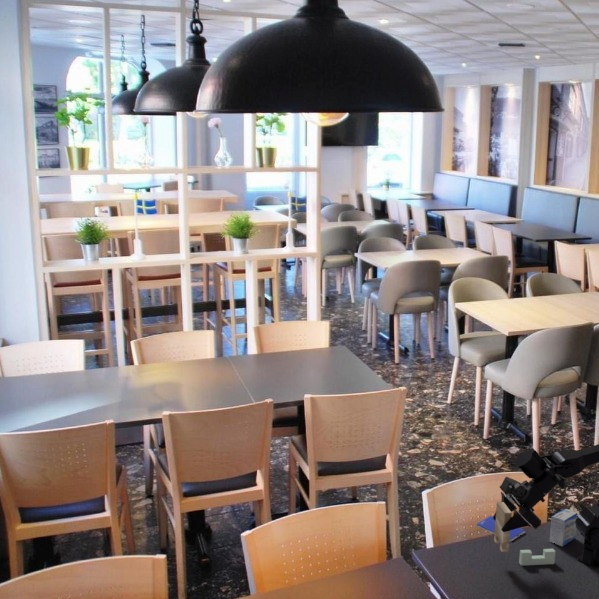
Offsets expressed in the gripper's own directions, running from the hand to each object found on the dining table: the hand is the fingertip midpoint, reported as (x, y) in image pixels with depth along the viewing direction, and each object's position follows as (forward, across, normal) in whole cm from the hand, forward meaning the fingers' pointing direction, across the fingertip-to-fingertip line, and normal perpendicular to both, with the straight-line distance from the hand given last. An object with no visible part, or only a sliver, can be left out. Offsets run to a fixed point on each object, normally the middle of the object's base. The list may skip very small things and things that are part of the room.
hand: (498, 525), depth 225 cm
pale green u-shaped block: (0, 0, +18) cm, 18 cm away
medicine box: (-9, -12, +27) cm, 31 cm away
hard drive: (+3, -20, +16) cm, 26 cm away
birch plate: (+4, 0, +6) cm, 7 cm away
